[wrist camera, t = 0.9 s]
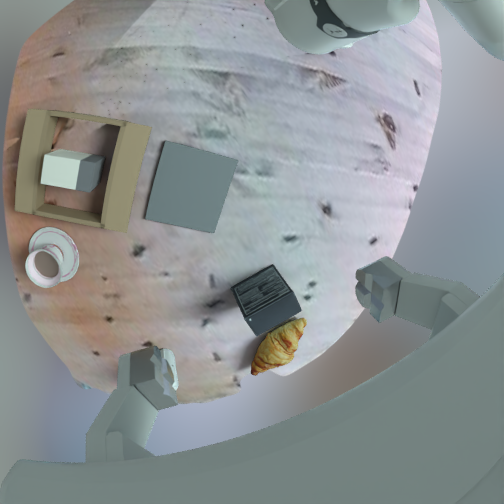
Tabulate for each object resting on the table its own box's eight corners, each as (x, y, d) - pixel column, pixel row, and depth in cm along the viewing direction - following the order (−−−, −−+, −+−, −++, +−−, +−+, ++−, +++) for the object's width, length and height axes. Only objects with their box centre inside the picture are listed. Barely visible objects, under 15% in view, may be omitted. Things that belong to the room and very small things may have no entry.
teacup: (65, 217, 41) (54, 230, 35) (89, 272, 47) (82, 289, 42) (21, 237, 39) (8, 251, 33) (45, 286, 45) (36, 303, 39)
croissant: (290, 303, 69) (290, 313, 61) (319, 325, 69) (322, 337, 61) (241, 358, 73) (235, 372, 65) (269, 377, 72) (266, 393, 65)
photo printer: (163, 345, 60) (167, 386, 50) (176, 352, 62) (182, 392, 52) (139, 365, 61) (140, 405, 51) (152, 372, 63) (155, 410, 53)
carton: (38, 108, 30) (28, 108, 27) (153, 126, 39) (151, 127, 36) (24, 203, 36) (14, 210, 33) (129, 224, 45) (126, 232, 42)
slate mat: (165, 140, 41) (165, 140, 40) (237, 160, 46) (238, 160, 45) (145, 217, 46) (145, 219, 45) (213, 231, 51) (214, 233, 50)
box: (60, 149, 35) (44, 154, 29) (105, 156, 39) (95, 163, 33) (56, 174, 37) (40, 183, 31) (100, 182, 40) (89, 192, 34)
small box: (242, 306, 61) (256, 338, 52) (229, 287, 58) (242, 319, 49) (283, 284, 62) (303, 312, 53) (273, 263, 58) (293, 290, 49)
